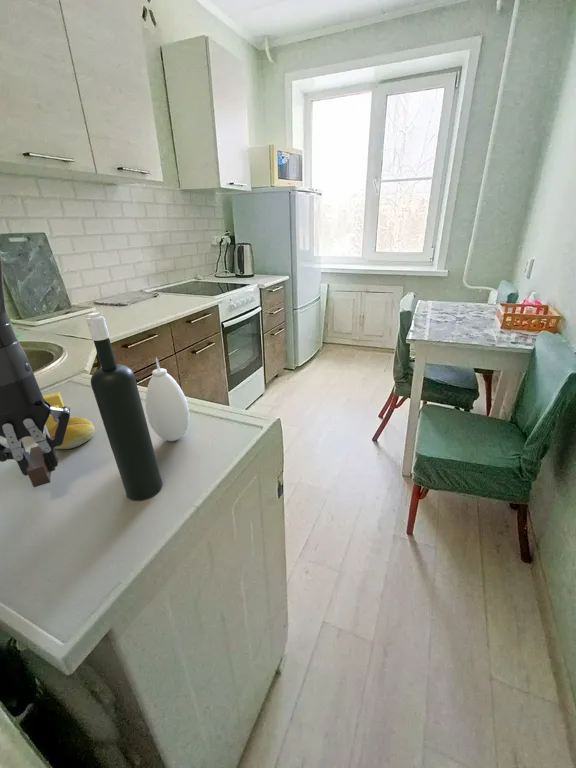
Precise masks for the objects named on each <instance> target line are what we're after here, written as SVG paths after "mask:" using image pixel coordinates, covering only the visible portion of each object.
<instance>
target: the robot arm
mask: <svg viewBox="0 0 576 768" xmlns="http://www.w3.org/2000/svg"><path fill="white" fill-rule="evenodd" d="M2 258H3V257H2V254H1V252H0V437H2V438H4V439H6V442H7V445H6V444H4V443H3V442H1V441H0V462H2V463H3V462H6V461H7V460H13V461H15V462H16V463H17V465H18V467H19V469H20V471H21V473H22V475H23V476H25V477H27V476H28V474H27V472H26V471H27V466H28V462H29V457H30V453H29V451H26V447H25V443H24V441H23V438H26V437H31V438H32V439H33V441H34V442H35V443H36V444H37V446H38V445H39V447H40V448H41V450H42V452H43V453H42V455H43V457H44V459H45V461H46V463H47V466H48V468H49V470H50V472H51V473H52V472H55V471H56V467H57V468H58V465H59V457H58V455H57V451H56V449H55V447H56V446H60V445H62V443H63V439H64V436H65V432H66V428H67V425H68V421H69V417H71V408H70V406H67V405H65V406H64V405H63V407H62V408H55V407H51V405H50V404H49V403H48V402H46V401H45V400H44V398H43V396H42V395H43V394H42V391H41V388H40V386H39V384H38V381H37V378H36V376H35V373H34V371H33V369H32V366H31V364H30V361H29V359H28V356H27V354H26V351H25V350H24V348H23V346H22V345H21V343H20V341H19V339H18V336H17V334H16V332H15V329H14V327H13V325H12V324H13V323H12V322H11V319H10V317H9V314H8V311H7V304H6V298H5V296H6V295H5V289H4V287H5V286H4V273H3V271H4V270H3V259H2ZM49 415H52V416H53V418H54V421H55V422H58V424H57V427H56V431H55V435H54V436H52V437H51V438H50V437H49V435H50V434H49V435H48V434H47V431H46V428H45V427H44V426H45V424H46V421H47V419H48V417H49Z"/></svg>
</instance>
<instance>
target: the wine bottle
mask: <svg viewBox="0 0 576 768" xmlns="http://www.w3.org/2000/svg"><path fill="white" fill-rule="evenodd" d="M84 317H85V320H86V323H87V327H88V330H89V334H90V337H91V340H92V341H93V343H94V347H95V350H96V354H97V357H98V362H99V364H100V367H99V368H98V369H97V370H95V371H94V372H93V373H92V375H91V376H90V386H91V389H92V392H93V395H94V398H95V402H96V405H97V408H98V411H99V414H100V417H101V421H102V423H103V426H104V430H105V433H106V435H107V439H108V442H109V445H110V448H111V452H112V454H113V457H114V460H115V464H116V467H117V470H118V474H119V476H120V479H121V482H122V486H123V488H124V491H125V495H126V497H127V498H128V499H129V500H131V501H135V502H139V501H146V500H148V499H151V498H152V497H154V496H156V495H157V494H159V492H160V491H161V489H162V487H163V480H162V476H161V472H160V469H159V464H158V460H157V457H156V453H155V449H154V446H153V445H154V444H153V442H152V437H151V435H150V431H149V430H150V429H149V426H148V422H147V418H146V415H145V410H144V407H143V403H142V399H141V396H140V395H141V394H140V392H139V388H138V383H137V380H136V375H135V373H134V371H133V370H132V369H131V367H129V366H127V365H124V364H120V363H119V364H118V363H117V361H116V357H115V354H114V349H113V346H112V343H111V340H110V337H111V336H110V332H109V330H108V325H107V322H106V319H105V315H104V312H97V311H96V312H91V313H88V314H84Z"/></svg>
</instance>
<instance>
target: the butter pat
mask: <svg viewBox="0 0 576 768" xmlns="http://www.w3.org/2000/svg"><path fill="white" fill-rule="evenodd" d="M42 396H43V398H44V400H45V401H46V402H48V403H49V404H50V405H51V406H55V405H58V406H59V408H62V407H64V404H65V403H64V400H63V398H62V395H61V392H60V391H55V392H52V393H46V394H42Z"/></svg>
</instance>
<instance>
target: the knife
mask: <svg viewBox="0 0 576 768" xmlns="http://www.w3.org/2000/svg"><path fill="white" fill-rule="evenodd" d="M44 427H45V428H46V431H47V434H48V435H49V437H50V431H48V430H47V427H46V425H45V426H44ZM42 453H43V452H42V450H41V448H40V447H39V445H38V444H37V446H34V447H31V448H30V453H29V455H30V457H29V462H28V466H27V471H26V472H27V474H28V475H27V476H28V478H29V480H30V482H31V484H32V487H33V488H38V487H40V486H44V485H46V484H50V483H51V480H52V479H51V477H52V471H51V472H50V470H49V468H48V466H47V463H46V461H45V459H44V457H43V455H42Z"/></svg>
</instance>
